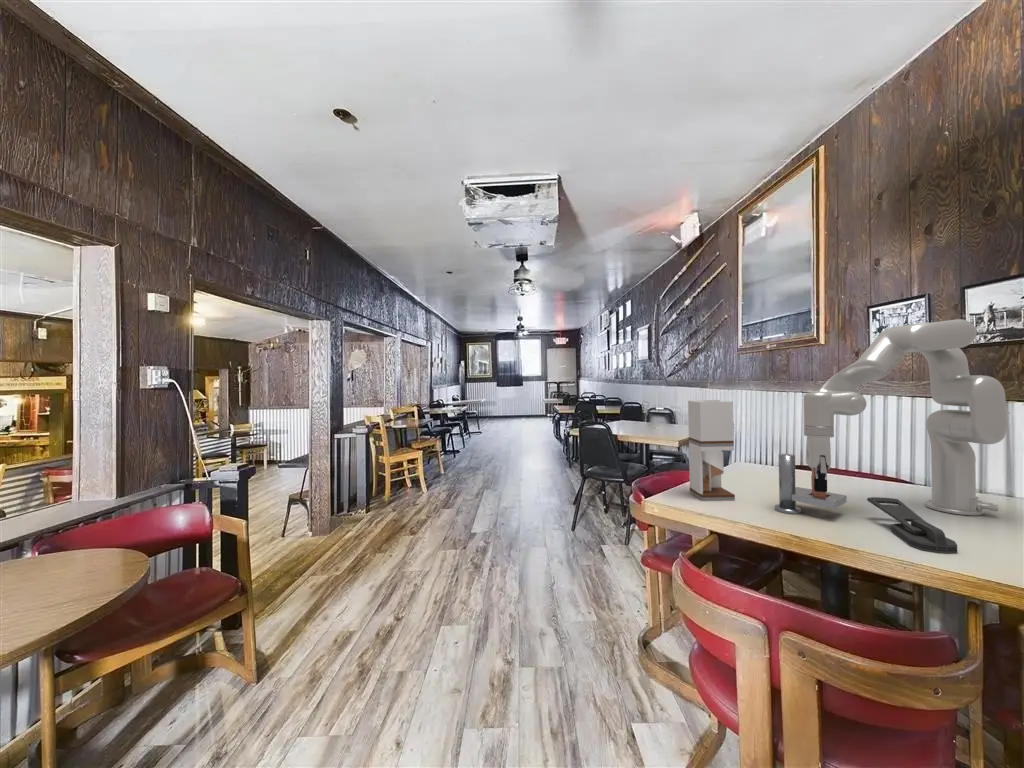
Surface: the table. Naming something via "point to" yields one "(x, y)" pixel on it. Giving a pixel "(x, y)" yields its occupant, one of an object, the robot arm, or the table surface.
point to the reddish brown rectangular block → (814, 493)
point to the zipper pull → (915, 528)
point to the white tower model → (709, 447)
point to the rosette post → (799, 490)
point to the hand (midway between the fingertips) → (819, 489)
